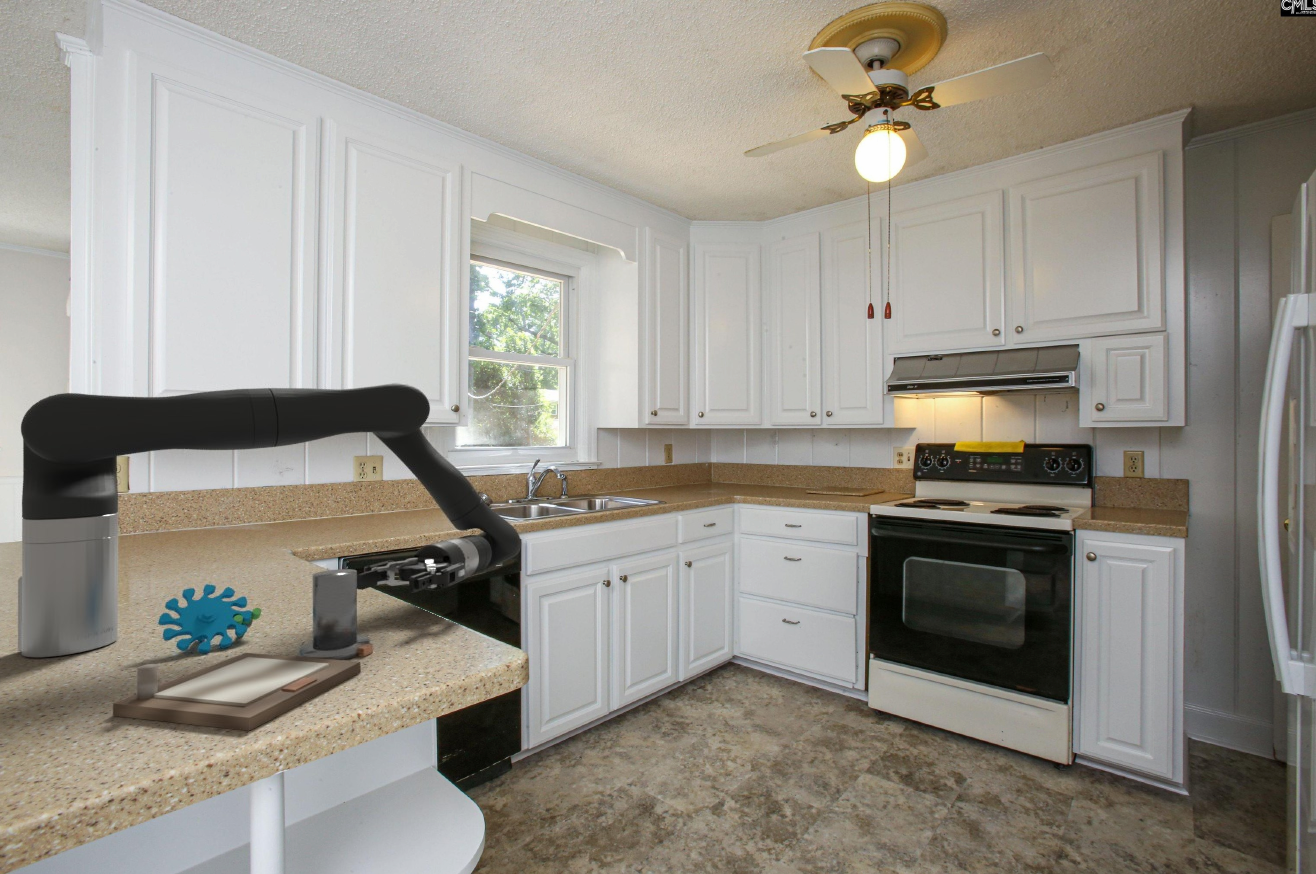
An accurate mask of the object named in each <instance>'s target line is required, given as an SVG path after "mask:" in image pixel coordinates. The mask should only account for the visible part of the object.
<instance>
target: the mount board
mask: <svg viewBox="0 0 1316 874" xmlns="http://www.w3.org/2000/svg"><path fill="white" fill-rule="evenodd" d="M361 663H362V662H361V661H358V660H357V661H354V660H333V659H320V658H307V657H299V656H292V655H281V654H280V655H278V654H265V653H255V652H254V653H252V652H244V653H241V654H239V655H236V656H233V657H231V658H228V659H225V660H223V661H220V662H217V663H215V664H212V665H210V666H207V667H204V668H202V669H200V670H196V671H194V672H191V673H189V674H186V675H184V676H181V677H179V678H178V677H177V678H176V679H173V680H171V681H168V682H165V683H163V684H160V685H159V679H158V678H159V675H158V674H159V672H158V670H159V665H158V663H149V664H143V665H140V666H138V667H137V668H136V689H137V690H136V694H134V695H131V696H129V697H125V698H124V699H120V700H119V701H115V702H113V703H112V717H122V718H130V719H139V720H146V721H147V720H149V721H157V722H159V721H160V722H167V723H175V724H183V725H184V724H185V725H193V726H201V727H210V728H211V727H213V728H222V729H231V730H238V731H239V730H240V731H248V732H251V730H254V729H256V728H257V727H260V726H262V725H264V724H265V723H267V722H269V721H270V720H273V719H274V718H276V717H278V716H281V715H282V714H284V713H286V712H287V711H289V710H292V709H294V708H295V707H297V706H299V705H302V704H303V703H304V702H307V701H309V700H311V699H312V698H315V697H316V696H318V695H321V694H322V693H325V692H326V691H327V690H330V689H332V688H333V687H335V686H337V685H339V684H340V683H342V682H345V681H346V680H349V679H351V678H353V677H354V676H355V675H357V674H360V673H361V671H362V669H361V668H362V667H361V666H362V665H361Z"/></svg>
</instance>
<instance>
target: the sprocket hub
mask: <svg viewBox="0 0 1316 874" xmlns="http://www.w3.org/2000/svg"><path fill="white" fill-rule="evenodd" d="M357 575H358V571H357V570H356V569H351V568H350V569H349V568H346V569H343V568H340V569H329V570H322V571H319V572H315V573H314V574H312V640H311V641H308V642H306V643H304V644H302V645H301V646H300V647H299V648H298V657H307V658H320V659H333V660H346V661H348V660H350V659H353V658H356V657H363V658H364V657H366V656H368V655H370V654H372V653H373V651H374V649H373V643H371V639H370V638H369V636H367V635H362V634H358V589H357Z"/></svg>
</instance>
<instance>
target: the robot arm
mask: <svg viewBox="0 0 1316 874" xmlns="http://www.w3.org/2000/svg"><path fill="white" fill-rule="evenodd" d="M430 411H431V406H430V402H429V399H428V397H427V396H426V394H425V393H423V391H421V390H420V389H419V388H417V387H416V386H414V385H412V384H408V383H404V382H394V383H393V382H392V383H387V384H385V383H384V384H379V385H372V386H363V387H356V388H341V389H340V388H339V389H337V388H336V389H333V388H331V389H330V388H311V387H310V388H306V387H305V388H302V387H301V388H299V387H298V388H297V387H293V388H292V387H289V388H288V387H286V388H285V387H284V388H283V387H282V388H281V387H280V388H279V387H278V388H277V387H262V388H260V387H258V388H236V389H223V390H222V389H221V390H210V391H201V392H194V393H188V394H186V393H185V394H180V395H178V394H177V395H172V396H125V395H124V396H123V395H121V396H118V395H102V394H86V393H78V392H77V393H76V392H75V393H74V392H67V393H65V392H64V393H56V394H54V395H49V396H47V397H45V398H42V399H40V400H38V401H37V402H36V403H34V404H32V406H30V408H29V409H28V410H26V413H25V414H24V415H23V417H22V421H21V424H20V434H21V436H22V441H23V442H22V444H23V445H22V447H23V448H22V449H23V451H22V452H23V454H22V457H23V458H22V459H23V460H22V462H23V464H22V465H23V466H22V470H23V471H22V472H23V475H22V476H23V477H22V495H21V545H22V547H21V548H22V549H21V555H22V557H21V562H22V563H21V576H20V577H19V578H18V579H17V652H21V655H22V656H23V657H26V658H27V657H28V658H49V657H50V658H51V657H57V656H58V657H59V656H65V655H66V656H67V655H71V654H77V653H82V652H86V651H92V650H95V649H99V648H101V647H105V646H107V645H110V644H112V643H114V642H116V641H117V640H118V638H119V637H118V635H119V632H118V631H119V630H118V628H119V623H118V622H119V513H118V512H119V491H118V489H119V488H118V474H117V473H118V472H117V471H118V457H120V456H121V457H122V456H127V455H133V454H140V453H147V452H154V451H155V452H156V451H164V450H165V451H166V450H194V451H198V450H199V451H236V450H238V451H239V450H255V449H256V450H257V449H266V448H267V449H268V448H278V447H284V446H293V445H299V444H302V443H303V444H304V443H307V442H312V441H317V440H321V439H325V438H330V437H335V436H339V435H345V434H353V433H354V434H355V433H356V434H357V433H358V434H359V433H372V434H373V435H374V436H376V438H378V440H379V441H381V442H382V443H383V444H384V446H386V447H387V448H388V449H389V450H390V451H391V452H392V453H393V454H394V455H395V456H396V457H397V458H398V459H399V460H400V461H401V462H402V464H404V466H405V467H406V468H407V469H408V470H409V471H410V472H411V473H412V475H414V476H415V478H417V480H418V481H419V482H420V483H421V485H422V486H423V487H424V489H425V490H426V491H427V492H428V493H429V495H430V496H431V497H432V499H433V500H434V502H435V503H436V505H437V506H438V507H439V508H440V510H441V512H442V513H443V514H444V515H445V516H446V518H447V519H448V521H449V522H450V523H451V524H452V525H453V527H454V528H455V529H457V530H458V531H460V532H463V531H469V530H475V529H476V530H479V531H482V532H480V533H478V534H470V535H469V534H468V535H464V536H460V537H457V538H454V537H453V538H448V539H443V540H441V541H437V542H432V543H429V544H426V545H424V546H422V547H420V548H419V549H418V550H417V551H416V552H415V554H414V556H413V557H412V558H411V557H410V558H406V559H405V560H399V561H394V560H391V559H389V560H386V561H382V562H378V563H375V564H374V563H373V564H370V565H366V566H364V567H363V572H362V573H357V590H366V589H369V588H372V587H375V586H379V585H385V584H387V585H388V586H390V587H393V586H400V585H401V586H402V585H408V592H409V593H418V592H419V591H420V592H421V591H422V590H427V591H431V592H435V591H440V590H442V589H445V588H446V589H447V588H449V587H451V586H453V585H455V584H457V583H460V582H462V581H464V580H466V579H467V578H469V577H471V576H474V575H476V574H478V573H482V572H485V571H488V570H490V569H492V568H495V567H496V566H498V565H500V564H502V563H504V562H506V561H508V560H510V559H512V558H514V557H515V556H517V555H518V554H519V553H520V551H521V548H522V547H521V546H522V540H521V537H520V535H519V532H518V531H517V529H516V528H515V527H514V526H513V525H512V524H511V523H510V522H508V521H507V520H506V519H504V518H503V517H502V516H500V515H499V514H498V512H496V511H494V510H493V508H491V507H490V506H489V505H487V503H485V501H484V499H482V497H481V495H480V494H479V493H478V491H477V490H476V489H475V487H474V486H473V484H472V483H471V482H470V480H468V478H467V477H466V475H464V474H463V473H462V472H461V471H460V470H459V469H458V468H457V467H456V466H455V465H454V464H452V463H451V462H450V461H449V460H448V459H446V458H445V457H444V456H443V455H442V454H441V453H440V452H439V451H438V450H437V449H436V448H435V447H434V446H433V445H432V444H431V443H430V441H429V439H428V438H427V437H426V436H425V434H424V433H423V432H422V429H421V427H422V426H424V424H425V423H426V421H427V420H428V418H429V416H430ZM395 574H398V578H399V579H397V580H395Z"/></svg>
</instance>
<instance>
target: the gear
mask: <svg viewBox="0 0 1316 874" xmlns="http://www.w3.org/2000/svg"><path fill="white" fill-rule="evenodd" d="M216 586H217V585H214V584H209V583H208V584H205V585H204V587H203V590H202V591H203V594H202V596H201V597H200V598H199V599H194V597H195V594H196V589H195V588H193V587H190V588H186V589H185V588H184V589H183V591H182V595H181V596H182V598H183V599H184V600H185V601H186V604H187V605H186V606H183V607H182V606H180V605H179V599H178V598H176V597H173V598H171V599H169V600H167V602H165V605H164V607H165V609H166V610H168V611H172V612H175V613H176V614H177V615H178V616H179V617H177V618H175V617H173V616H172V615H171V614H170V613H169V612H162V614H160V616H159V618H158V622H157V625H159V626H169V625H172V626H177V627H180V629H174V628H171V627H167V628H164V629H163V633H162V637H163V641H165V642H167V641H172V640H173V639H175V638H176V637H177V638H178V637H180V636H190V637H189V638H181V639H179V640H178V641H177V642H176V648H177V649H178V650H179V651H181V652H186V651H187V650H188V649H189V647H190V646H191V645H192V644H193V643H195V642H196V641H197V642H201V643H199V644H198V648H197V653H201V654H208V653H210V652H211V648H212V644H211V643H212V641H213V639H214V638H215V637H216V636H220V637H221V639H220V641H219V645H218V646H219V648H221V649H224V648H228V647H231V646H232V644H233V638H232V637H231V636H230V635H229V634H228V631H229V630H234V634H235V635H234V636H236V637H238V638H240V637H242V636H244V635H245V634H246V633H247V632H248V629H250V628H251V626H252V624H253V622H254V621H255V620H258V619H259V618H260V616H261V614H262V608H259V607H255V608H253V609H252V610H238V609H234V608H232V607H236V608H239V609H245V608H246V607H247V605H248V599H247V597H246V596H240V597H239V598H237V599H233V600H223V599H231V598H233V597H234V596H235V593H236V591H235V590H234V588H232V587H230V586H228V587H225V588H224V590H223V591H222V592H221V593H220V594H219V595H217V596H214V597H209V596H211V595H213V594H214V593H215V592H216V588H217V587H216Z"/></svg>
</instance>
